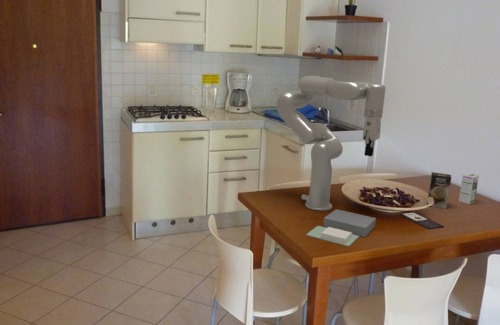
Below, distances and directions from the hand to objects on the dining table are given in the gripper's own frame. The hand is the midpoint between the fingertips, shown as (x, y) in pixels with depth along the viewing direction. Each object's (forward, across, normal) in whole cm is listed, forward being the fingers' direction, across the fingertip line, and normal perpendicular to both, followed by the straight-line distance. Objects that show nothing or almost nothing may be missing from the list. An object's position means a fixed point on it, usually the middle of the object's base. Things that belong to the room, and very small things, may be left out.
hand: (368, 155), depth 209 cm
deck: (+29, -13, +1) cm, 32 cm away
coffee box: (+29, +42, -24) cm, 57 cm away
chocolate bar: (+30, +15, -23) cm, 40 cm away
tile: (+27, -28, +1) cm, 39 cm away
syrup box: (+29, +59, -36) cm, 75 cm away
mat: (+29, -27, +3) cm, 40 cm away
